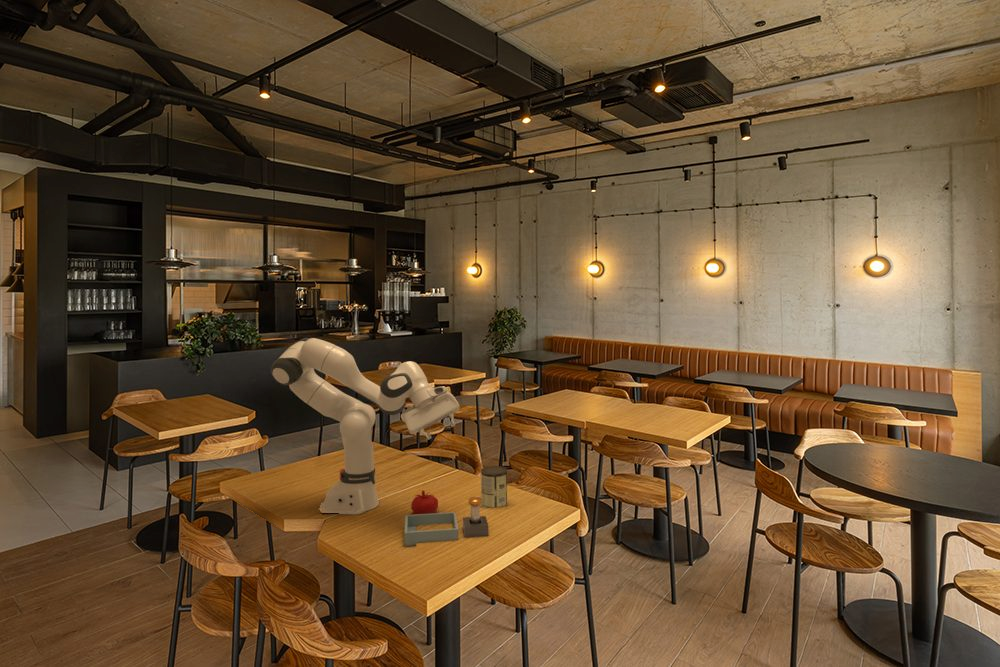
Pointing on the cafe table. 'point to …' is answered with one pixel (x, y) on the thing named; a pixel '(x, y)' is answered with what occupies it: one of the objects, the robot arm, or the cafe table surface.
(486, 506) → the coffee can
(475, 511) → the lock pin
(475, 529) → the dark grey socket block
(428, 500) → the red round piece
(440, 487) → the cafe table surface
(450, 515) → the tray
